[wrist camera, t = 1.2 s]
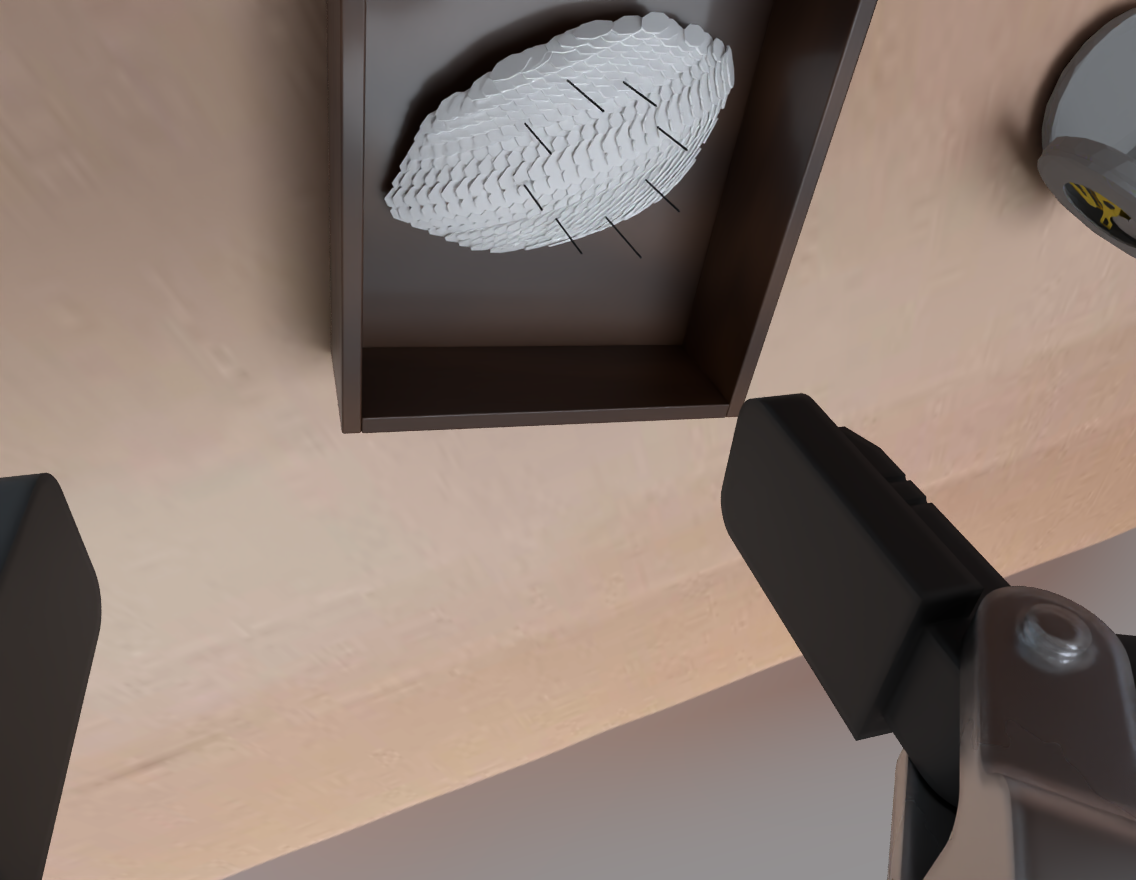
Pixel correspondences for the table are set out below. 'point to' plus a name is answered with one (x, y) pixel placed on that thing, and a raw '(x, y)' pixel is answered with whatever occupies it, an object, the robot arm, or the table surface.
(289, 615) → the table surface
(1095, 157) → the pocket watch
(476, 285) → the box
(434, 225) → the pincushion
